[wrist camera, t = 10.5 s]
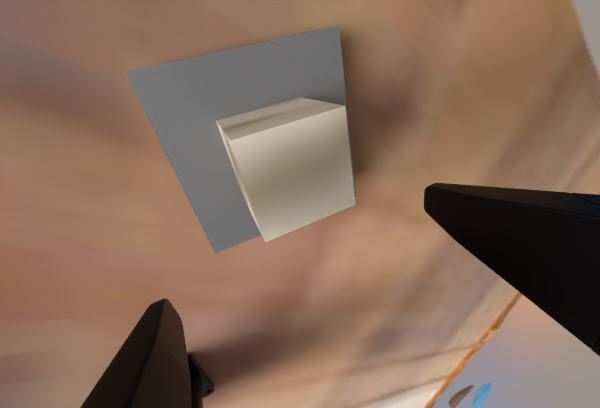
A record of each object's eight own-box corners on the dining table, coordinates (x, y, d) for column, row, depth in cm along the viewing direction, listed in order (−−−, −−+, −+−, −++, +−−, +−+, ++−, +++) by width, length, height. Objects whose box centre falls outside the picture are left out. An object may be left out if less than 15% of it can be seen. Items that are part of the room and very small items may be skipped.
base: (336, 182, 22) (356, 196, 20) (210, 230, 20) (215, 253, 17) (315, 32, 17) (339, 25, 14) (135, 72, 14) (126, 72, 12)
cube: (314, 174, 18) (355, 204, 13) (244, 199, 16) (265, 242, 12) (300, 97, 15) (345, 105, 11) (216, 121, 14) (230, 140, 10)
